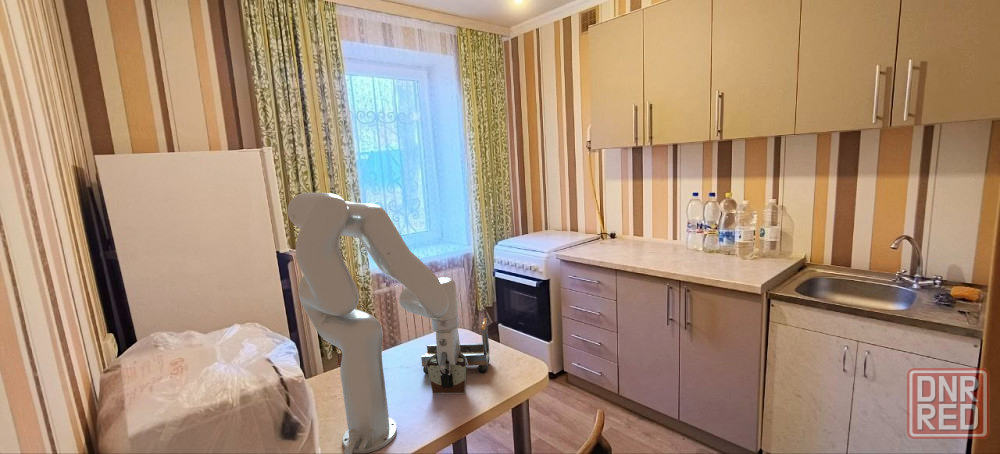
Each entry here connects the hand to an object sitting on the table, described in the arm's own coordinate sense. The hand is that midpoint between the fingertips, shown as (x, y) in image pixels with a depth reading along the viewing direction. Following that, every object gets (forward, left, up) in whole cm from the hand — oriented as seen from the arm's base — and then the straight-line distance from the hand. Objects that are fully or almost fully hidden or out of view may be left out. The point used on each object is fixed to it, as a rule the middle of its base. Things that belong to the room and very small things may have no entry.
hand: (450, 378), depth 122 cm
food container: (0, 0, -3) cm, 3 cm away
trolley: (+11, 0, -3) cm, 11 cm away
